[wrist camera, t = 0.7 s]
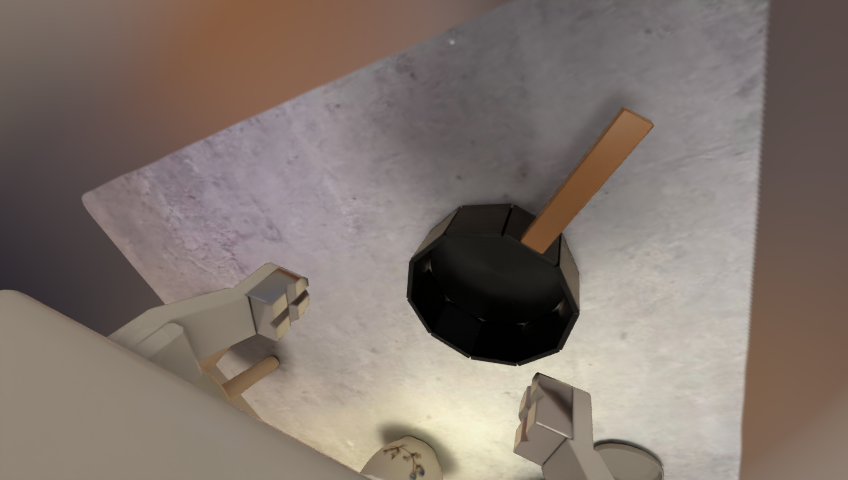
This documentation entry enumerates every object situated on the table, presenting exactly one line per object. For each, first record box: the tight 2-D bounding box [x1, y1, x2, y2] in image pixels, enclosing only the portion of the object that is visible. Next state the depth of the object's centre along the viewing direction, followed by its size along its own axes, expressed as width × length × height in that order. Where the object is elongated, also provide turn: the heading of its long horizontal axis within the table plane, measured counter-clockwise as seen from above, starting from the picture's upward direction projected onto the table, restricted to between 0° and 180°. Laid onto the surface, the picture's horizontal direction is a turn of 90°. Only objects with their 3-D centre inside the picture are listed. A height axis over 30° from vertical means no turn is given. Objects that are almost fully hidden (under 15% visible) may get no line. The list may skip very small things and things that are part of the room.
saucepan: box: [407, 107, 654, 366], centre depth 24 cm, size 21×13×5 cm, turn 157°
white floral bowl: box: [360, 436, 443, 480], centre depth 48 cm, size 15×12×8 cm
